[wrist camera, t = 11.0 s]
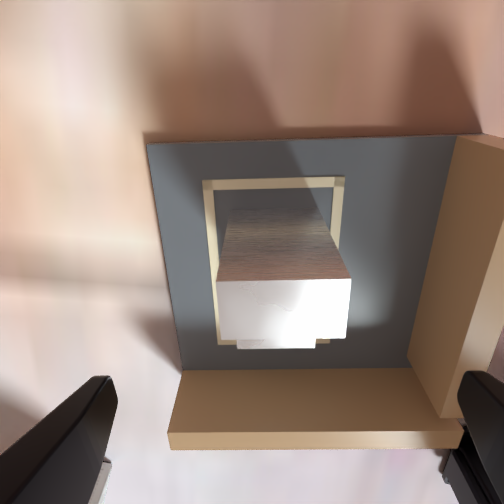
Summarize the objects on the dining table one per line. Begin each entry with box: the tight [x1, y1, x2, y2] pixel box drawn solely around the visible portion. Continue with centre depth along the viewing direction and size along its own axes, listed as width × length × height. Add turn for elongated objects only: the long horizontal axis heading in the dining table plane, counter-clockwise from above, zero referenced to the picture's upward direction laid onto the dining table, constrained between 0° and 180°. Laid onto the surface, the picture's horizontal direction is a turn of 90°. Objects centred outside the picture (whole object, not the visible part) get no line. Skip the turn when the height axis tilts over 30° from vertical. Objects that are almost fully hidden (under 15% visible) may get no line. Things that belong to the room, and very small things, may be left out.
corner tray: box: [146, 133, 504, 450], centre depth 18 cm, size 16×16×5 cm
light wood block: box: [216, 207, 351, 349], centre depth 16 cm, size 8×4×7 cm, turn 2°
